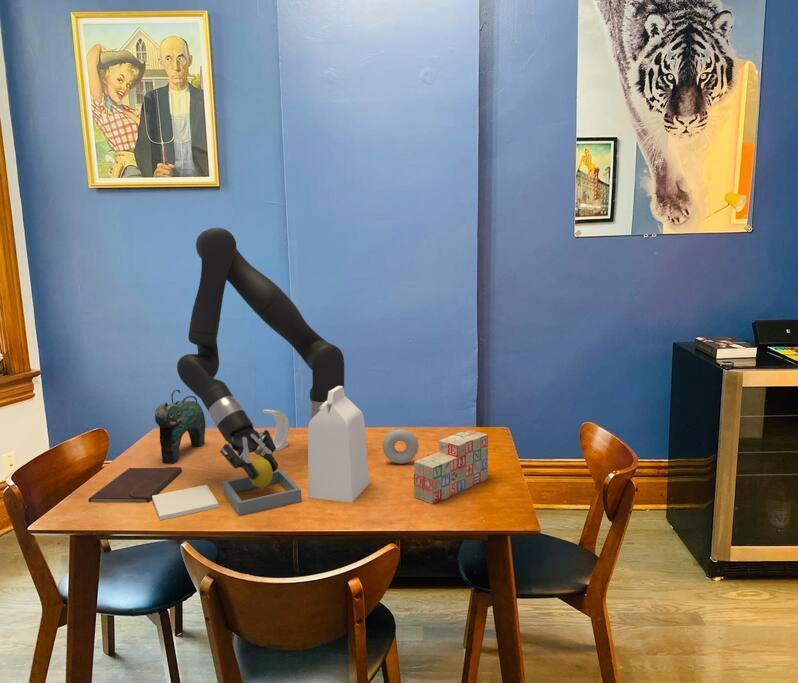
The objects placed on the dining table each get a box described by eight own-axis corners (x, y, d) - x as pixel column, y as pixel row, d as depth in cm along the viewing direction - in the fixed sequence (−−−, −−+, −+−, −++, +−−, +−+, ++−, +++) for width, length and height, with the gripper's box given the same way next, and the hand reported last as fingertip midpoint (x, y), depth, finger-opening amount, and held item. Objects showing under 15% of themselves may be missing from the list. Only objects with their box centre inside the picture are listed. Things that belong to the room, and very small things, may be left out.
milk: (352, 502, 145) (348, 396, 141) (308, 497, 149) (303, 393, 144) (369, 483, 157) (366, 384, 152) (327, 479, 160) (324, 382, 156)
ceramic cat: (172, 466, 171) (167, 397, 168) (152, 464, 172) (146, 396, 169) (210, 443, 190) (206, 380, 187) (192, 442, 192) (187, 380, 188)
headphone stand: (265, 448, 184) (262, 410, 183) (278, 442, 190) (276, 405, 188) (276, 451, 182) (274, 412, 180) (290, 445, 187) (288, 407, 185)
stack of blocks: (432, 505, 143) (432, 455, 141) (413, 497, 148) (412, 449, 146) (488, 479, 158) (488, 433, 156) (469, 473, 163) (469, 428, 161)
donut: (382, 465, 169) (381, 430, 167) (383, 461, 172) (382, 427, 170) (418, 465, 168) (418, 430, 167) (418, 461, 172) (418, 427, 170)
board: (206, 488, 155) (206, 484, 155) (218, 507, 144) (218, 503, 144) (152, 499, 149) (151, 495, 149) (160, 520, 138) (159, 516, 138)
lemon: (267, 494, 146) (265, 462, 145) (246, 492, 147) (244, 461, 146) (277, 484, 151) (275, 454, 150) (256, 483, 152) (254, 452, 151)
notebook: (88, 503, 148) (88, 496, 148) (128, 473, 168) (128, 466, 167) (149, 504, 147) (148, 496, 147) (182, 473, 167) (181, 466, 167)
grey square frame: (281, 480, 159) (281, 469, 159) (301, 501, 146) (301, 489, 146) (223, 492, 152) (222, 481, 152) (239, 515, 139) (238, 503, 139)
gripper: (212, 417, 145) (249, 475, 140) (259, 402, 156) (294, 456, 151) (200, 434, 149) (235, 492, 144) (246, 419, 160) (281, 472, 155)
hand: (265, 473), depth 147 cm, fingers closed on lemon, 5 cm apart
